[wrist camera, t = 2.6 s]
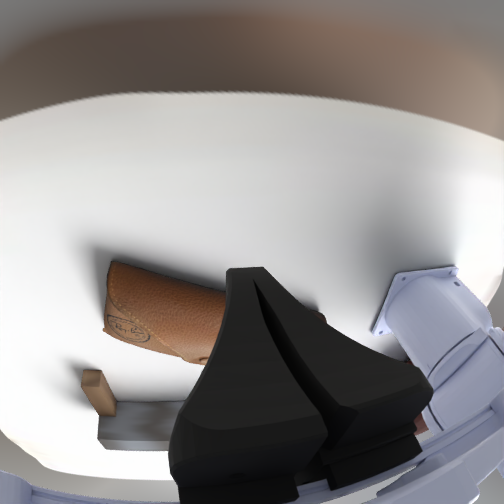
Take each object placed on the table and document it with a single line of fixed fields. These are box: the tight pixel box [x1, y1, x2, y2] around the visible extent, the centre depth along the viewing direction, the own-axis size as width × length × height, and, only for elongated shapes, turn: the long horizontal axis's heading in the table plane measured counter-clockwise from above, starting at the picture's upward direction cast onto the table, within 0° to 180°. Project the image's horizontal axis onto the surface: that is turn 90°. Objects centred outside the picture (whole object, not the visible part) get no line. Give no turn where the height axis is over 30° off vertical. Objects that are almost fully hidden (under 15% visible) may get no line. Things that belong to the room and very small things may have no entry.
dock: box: [81, 370, 185, 451], centre depth 28 cm, size 27×9×5 cm, turn 86°
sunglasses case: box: [103, 261, 327, 365], centre depth 24 cm, size 18×7×7 cm
